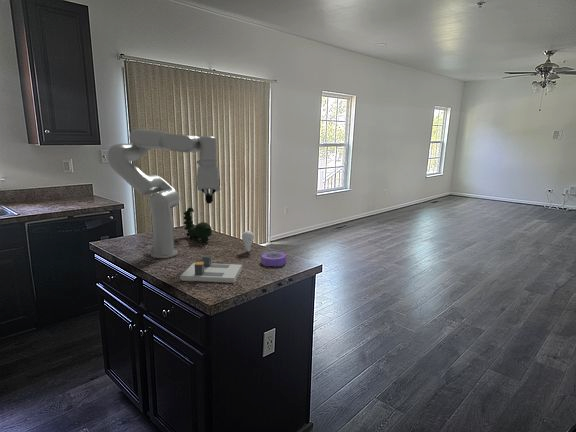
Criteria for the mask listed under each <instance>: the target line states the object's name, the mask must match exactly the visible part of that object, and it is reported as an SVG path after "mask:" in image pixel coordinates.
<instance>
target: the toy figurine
mask: <svg viewBox="0 0 576 432" xmlns="http://www.w3.org/2000/svg"><path fill="white" fill-rule="evenodd" d="M186 209H187V210H186V211H185V212H183V215H184V216H183V220H185V221H183V224H184V225H185V227H184V230H185V231H187V233H186V237H189V240H193V241H197V240H198V239H200V241H201V242H202V243H204V244H205V243H207V242H208V241H209V237H211V236H212V234H213V233H212V232H213V231H212V226H211V225H210V224H209V223H208V222H205V221H201V222H198V223H197V224H196V225H194V224H193V217H192V215H191V212H192V213H194V211H195V210H194V208H193V207H188V208H186Z"/></svg>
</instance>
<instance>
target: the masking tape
mask: <svg viewBox="0 0 576 432" xmlns="http://www.w3.org/2000/svg"><path fill="white" fill-rule="evenodd" d="M260 258H261V259H260V260H261V265H263V266H265V267H269V266H275V268H276V266H278V267H282V265H283V266H285V265H286V264H287V254H286V253H285V252H280V251H267V252H264V253H262V254H261V257H260ZM284 264H285V265H284Z"/></svg>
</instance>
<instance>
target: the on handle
mask: <svg viewBox="0 0 576 432" xmlns="http://www.w3.org/2000/svg"><path fill="white" fill-rule="evenodd" d="M201 259H202V260H201V262H204V266H210V265H211V263H212V255H210V254H204V255H202V257H201Z"/></svg>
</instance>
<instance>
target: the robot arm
mask: <svg viewBox="0 0 576 432" xmlns="http://www.w3.org/2000/svg"><path fill="white" fill-rule="evenodd" d="M128 137H129V138H128V139H129V141H130V143H116V144H113V145H111V146H110V148H109V149H108V151H107V160H108V164H109V166H110V167H111V169H112V170H113V171H114V172H115V173H116V174H117V175H118V176H119V177H121V178H122V179H123V180H125V182H126V183H127V184H129V185H130V186H131V187H132V189H134V190H135V191H136V192H137V193H139V195H142V196H150V197H149V200H148V205H149V210H150V213H151V221H152V222H151V223H152V240H153V245H146V247H145V248H146V251H151V252H150V256H151V257H152V258H155V259H167V258H172V257H175V256H177V255H178V254H179V251H178V250H177V249H175V238H174V237H175V236H174V235H175V234H174V221H173V220H174V219H173V214H172V211H171V209H172V208H174V207H177V206H178V205H179V203H180V199H181V197H180V195H179V193H178V191H177V190H176V189H175V188H174V187H173V186H171V184H170V183H168V182H167V181H166V180H165V179H164V178H162V177H161V176H160V175H158V174H147V173H145V172H143V170H141V169H140V168H139V167H138V166H136V165H135V164H133V163H132V162H135V161H137V160H140V159H141V158H142V157H143V156H145V155H147V153H148V152H150V150H151V149H153V150H159V151H170V152H177V153H197V152H199V160H197V161H196V164H197V165H199V166H198V167H197V170H196V172H197V173H196V187H197V188H196V189H197V191H200V192H202V193H203V194H204V195H205V202H206V204H212V203H213V201H214V194H215V193H216V192H220V191H221V175H220V169H219V166H217V164H218V163H217V162H218V161H217V139H216V137H214V136H212V135H202V136H199V135H191V134H190V135H187V134H176V133H169V132H166V131H165V130H155V129H154V130H153V129H149V128H135V129H133V130H132V131H131V132H130V133H129V136H128Z"/></svg>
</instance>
